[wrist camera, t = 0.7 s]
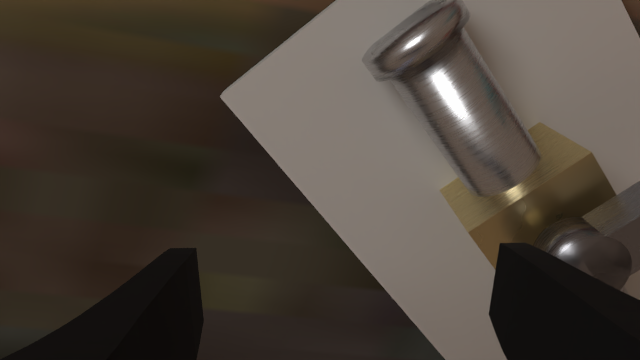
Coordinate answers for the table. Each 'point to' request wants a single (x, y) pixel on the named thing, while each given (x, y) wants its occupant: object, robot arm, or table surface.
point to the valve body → (484, 133)
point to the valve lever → (600, 239)
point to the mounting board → (421, 152)
